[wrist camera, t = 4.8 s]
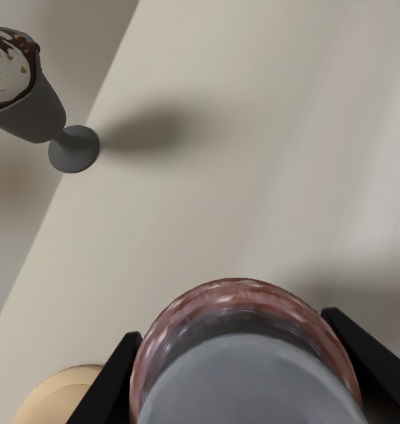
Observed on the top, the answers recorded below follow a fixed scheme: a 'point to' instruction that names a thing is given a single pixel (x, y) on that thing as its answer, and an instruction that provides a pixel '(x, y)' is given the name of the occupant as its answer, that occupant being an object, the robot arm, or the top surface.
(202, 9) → the top surface
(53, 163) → the sundae
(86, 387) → the plate
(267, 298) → the supplement bottle
